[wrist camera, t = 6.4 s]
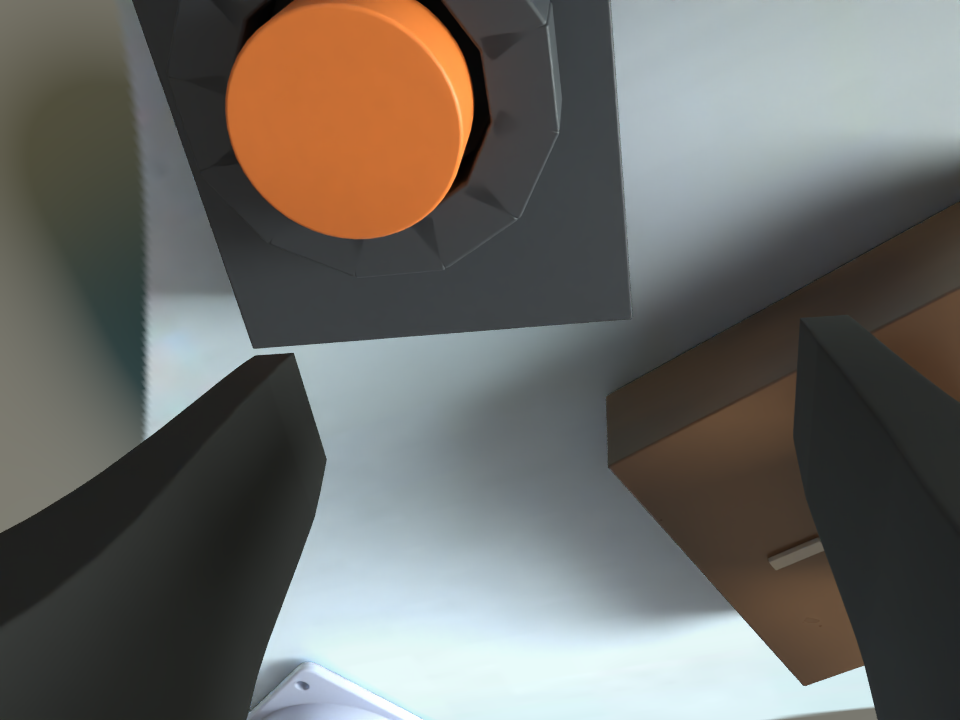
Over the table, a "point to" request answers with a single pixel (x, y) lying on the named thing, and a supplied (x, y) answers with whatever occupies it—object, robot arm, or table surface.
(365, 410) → the table surface
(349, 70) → the lid button
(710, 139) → the table surface
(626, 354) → the table surface
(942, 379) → the dial panel
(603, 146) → the push button base
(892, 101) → the table surface
